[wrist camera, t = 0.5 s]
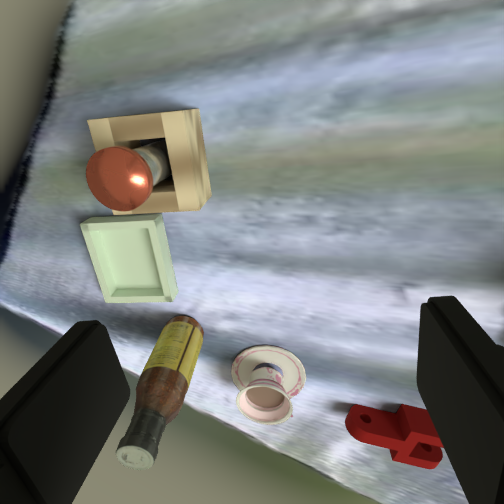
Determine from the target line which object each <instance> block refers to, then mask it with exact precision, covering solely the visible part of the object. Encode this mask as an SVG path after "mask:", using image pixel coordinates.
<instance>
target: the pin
mask: <svg viewBox="0 0 504 504" xmlns="http://www.w3.org/2000/svg"><path fill="white" fill-rule="evenodd" d="M171 174H172V170H171V165H170V159H169V154H168V149H167V144H166V140H160V141H157V142H154V143H151V144H148V145H145V146H142V147H139V148H136V149H133V150H132V149H130V148H128V147H124V146H111V147H108V148H104V149H101V150H99V151H97V152H96V153H94V154H93V155H92V156H91V158H90V159H89V161H88V164H87V168H86V178H87V183H88V186H89V188H90V190H91V192H92V193H93V195H94V196H95V197H96V199H97V200H98V201H99V202H101V203H102V204H103V205H105V206H106V207H108V208H110V209H112V210H116V211H123V212H125V211H131V210H134V209H136V208H137V207H139V206H140V205H142V204H143V203H144V202H145V201H147V199H148V198H149V197H150V195H151V193H152V189H153V186H154V185H156V184H157V183H159V182H160V181H162V180H163V179H165V178H167V177H168V176H170V175H171Z"/></svg>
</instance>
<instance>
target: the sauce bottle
mask: <svg viewBox="0 0 504 504" xmlns="http://www.w3.org/2000/svg"><path fill="white" fill-rule="evenodd" d="M203 334H204V332H203V329H202V327H201V325H200V324H199V323H198V322H197V321H196V320H195V319H193V318H191V317H187V316H176V317H174V318H172V319H171V320H169V321H168V322H167V324H166V326H165V327H164V329H163V330H162V332H161V334H160V336H159V339H158V341H157V343H156V345H155V347H154V349H153V351H152V353H151V355H150V357H149V359H148V361H147V363H146V365H145V367H144V369H143V372H142V374H141V376H140V378H139V381H138V384H137V387H136V403H135V409H134V415H133V417H132V419H131V423H130V426H129V427H128V430H127V432H126V434H125V436H124V437H123V438H122V439H121V440H120V442H119V445H118V448H117V450H116V456H117V459H118V460H119V461H120V462H121V463H122V464H123V465H124V466H126V467H128V468H132V469H137V470H142V469H148V468H150V467H151V466H152V465H153V464H154V461H155V459H156V456H157V454H158V445H159V442H160V439H161V436H162V433H163V432H164V430H165V426H166V425H167V424H168V423H169V422H171V421H172V420H173V419H174V418H175V417H176V416H177V415H178V413H179V411H180V409H181V407H182V405H183V401H184V398H185V394H186V393H187V391H188V388H189V384H190V381H191V378H192V375H193V371H194V368H195V365H196V362H197V359H198V355H199V352H200V349H201V346H202V342H203Z"/></svg>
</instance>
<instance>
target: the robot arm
mask: <svg viewBox="0 0 504 504" xmlns="http://www.w3.org/2000/svg"><path fill="white" fill-rule="evenodd" d="M417 386H418V390H419V393H420V395H421V398H422V400H423V402H424V404H425V407H426V409H427V411H428V413H429V415H430V418H431V420H432V422H433V424H434V427H435V429H436V431H437V433H438V436H439V438H440V440H441V442H442V444H443V447H444V449H445V451H446V453H447V456H448V458H449V460H450V462H451V465H452V467H453V469H454V471H455V473H456V476H457V478H458V480H459V482H460V485H461V487H462V489H463V491H464V493H465V496H466V498H467V500H468V502H469V504H504V347H503V346H501V345H496V344H495V343H494V341H493V340H492V339H491V338H490V337H489V336H488V334H487V333H486V332H485V331H484V330H483V329H482V327H481V326H480V325H479V324H478V323H477V322H476V321H475V319H474V318H473V317H472V316H471V315H470V314H469V312H468V311H467V310H466V309H465V308H464V307H463V305H462V304H461V303H460V302H459V301H458V300H457V298H455V297H454V296H441V297H430V298H429V299H428V302H427V303H422V305H421V310H420V327H419V345H418V362H417ZM129 397H130V388H129V385H128V382H127V380H126V378H125V375H124V372H123V370H122V367H121V365H120V362H119V359H118V357H117V354H116V352H115V349H114V347H113V344H112V342H111V339H110V337H109V334H108V331H107V329H106V327H105V326H104V325H102V324H101V323H100V322H99V321H97V320H90V321H79V322H77V323H75V324H74V325H73V326H72V327H71V328H70V329H69V330H68V331H67V332H66V333H65V334H64V335H63V336H62V337H61V338H60V339H59V340H58V342H57V343H56V344H55V345H54V346H53V347H52V348H51V349H50V350H49V351H48V352H47V353H46V354H45V355H44V356H43V357H42V358H41V359H40V360H39V361H38V362H37V363H36V364H35V365H34V366H33V367H32V368H31V369H30V370H29V371H28V372H27V373H26V374H25V375H24V376H23V377H22V378H21V379H20V380H19V381H18V382H17V383H16V384H15V385H14V386H13V387H12V388H11V389H10V390H9V391H8V392H7V393H6V394H5V395H4V396H3V397H2V398H1V400H0V504H72V502H73V500H74V499H75V497H76V495H77V493H78V491H79V489H80V487H81V486H82V484H83V482H84V480H85V479H86V477H87V475H88V473H89V471H90V469H91V468H92V466H93V464H94V462H95V460H96V458H97V457H98V455H99V453H100V451H101V449H102V448H103V446H104V444H105V442H106V440H107V438H108V437H109V435H110V433H111V431H112V429H113V428H114V426H115V424H116V422H117V420H118V418H119V417H120V415H121V413H122V411H123V409H124V407H125V406H126V404H127V402H128V400H129Z"/></svg>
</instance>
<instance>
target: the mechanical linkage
mask: <svg viewBox="0 0 504 504" xmlns="http://www.w3.org/2000/svg"><path fill="white" fill-rule="evenodd" d="M345 425H346V428H347V430H348V432H349V433H350V434H351V436H353V437H354V438H355V439H356V440H358V441H360V442H363V443H367V444H371V445H375V446H379V447H384V448H388V449H390V453H391V457H392V460H393V461H397V462H401V463H405V464H409V465H414V466H418V467H422V468H426V469H434V468H435V467H436V466H437V465H438V464H439V462H440V461H441V460H442V457H443V454H442V450H441V448H440V447H442V448H444V447H443V444H442V442H441V440H440V438H439V436H438V433H437V431H436V429H435V427H434V424H433V422H432V420H431V418H430V415H429V413H428V411H427V410H426V409H422V408H417V407H413V406H409V405H405V404H401V406H400V408H399V409H398V411H397V413H391V412H387V411H383V410H379V409H375V408H371V407H366V406H362V405H358V404H356V405H353V406H352V407H351V409H350V411H349V413H348V415H347V417H346V419H345Z"/></svg>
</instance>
